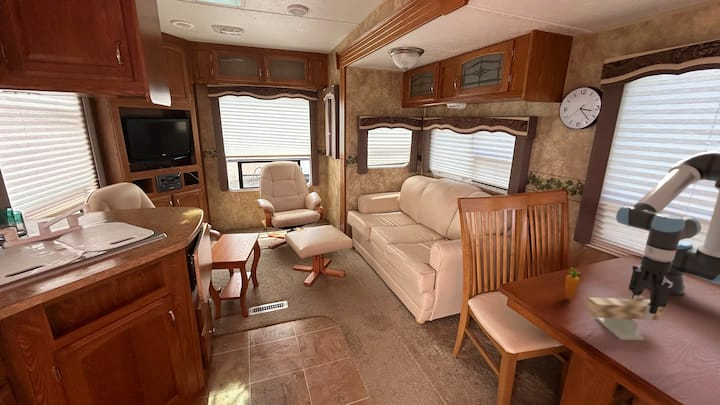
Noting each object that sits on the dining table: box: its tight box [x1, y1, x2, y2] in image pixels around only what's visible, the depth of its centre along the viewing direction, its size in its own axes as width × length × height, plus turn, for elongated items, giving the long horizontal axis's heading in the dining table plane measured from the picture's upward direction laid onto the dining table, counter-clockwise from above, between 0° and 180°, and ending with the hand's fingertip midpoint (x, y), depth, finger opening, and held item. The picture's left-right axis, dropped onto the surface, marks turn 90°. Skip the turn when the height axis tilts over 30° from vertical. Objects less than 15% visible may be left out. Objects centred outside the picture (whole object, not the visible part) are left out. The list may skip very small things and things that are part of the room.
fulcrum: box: [595, 318, 645, 341], centre depth 109 cm, size 8×12×6 cm, turn 179°
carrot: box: [564, 267, 581, 300], centre depth 127 cm, size 5×5×15 cm
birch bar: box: [584, 296, 665, 321], centre depth 108 cm, size 24×4×6 cm, turn 89°
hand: (640, 314), depth 108 cm, fingers closed on birch bar, 4 cm apart
